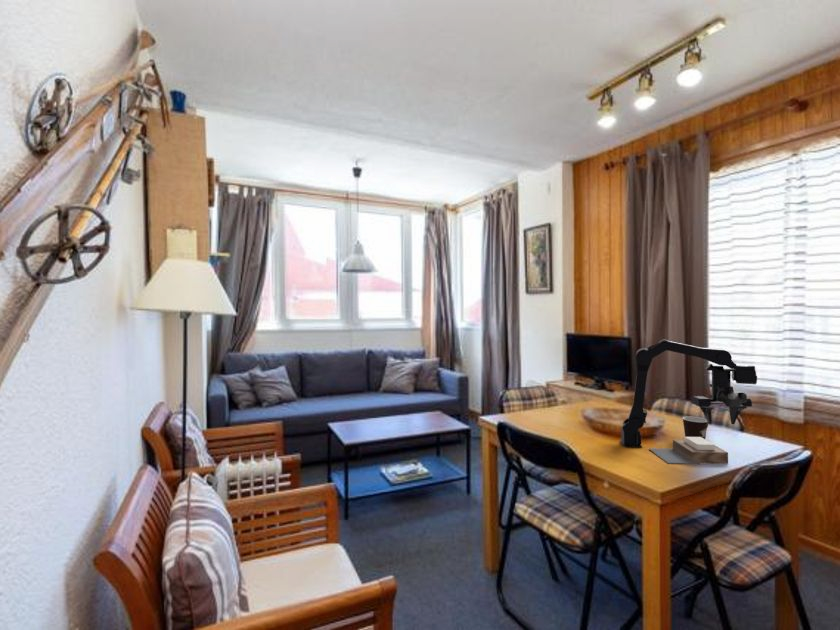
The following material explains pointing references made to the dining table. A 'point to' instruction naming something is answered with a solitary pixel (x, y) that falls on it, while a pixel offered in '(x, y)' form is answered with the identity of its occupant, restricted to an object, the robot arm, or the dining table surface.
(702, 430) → the coffee mug
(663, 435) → the dining table surface
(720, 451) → the block
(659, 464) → the dining table surface
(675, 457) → the charcoal mat
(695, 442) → the ceramic tile
